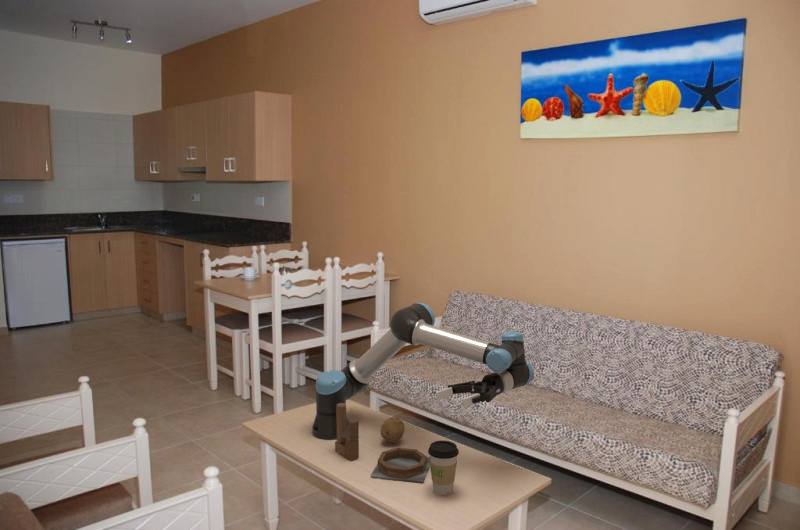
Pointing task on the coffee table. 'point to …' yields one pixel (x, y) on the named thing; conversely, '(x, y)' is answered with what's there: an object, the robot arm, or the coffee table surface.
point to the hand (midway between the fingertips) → (449, 399)
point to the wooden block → (346, 435)
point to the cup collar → (402, 465)
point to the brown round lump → (392, 429)
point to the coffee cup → (443, 466)
